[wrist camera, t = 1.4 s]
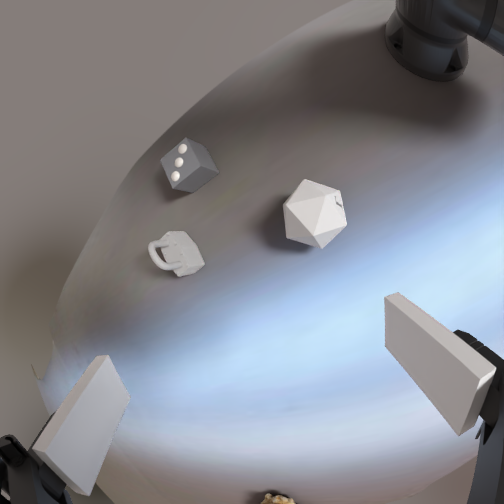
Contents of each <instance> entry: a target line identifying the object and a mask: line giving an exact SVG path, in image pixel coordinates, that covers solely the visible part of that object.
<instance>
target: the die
mask: <svg viewBox="0 0 504 504" xmlns="http://www.w3.org/2000/svg"><path fill="white" fill-rule="evenodd" d="M283 211H284V220H285V229H286V238H288V239H291V240H295V241H298V242H301V243H304V244H308V245H311V246H314V247H317V248H321V249H322V248H323V247H325V246H326V245H327V244H328V243H329V242H330V241H331V240H332V239H333V238H334V237H335V236H336V235H337V234H338V233H339V232H340V231H341V230H342V229H343V228H345V227H346V226H347V222H346V217H345V212H344V208H343V203H342V198H341V194H340V191H339V190H336V189H333V188H330V187H327V186H324V185H321V184H318V183H315V182H312V181H309V180H306V179H304V180H303V181H302V182H301V183H300V185H299V186H298V187H297V188H296V189H295V191H294V192H293V193H292V194H291V195H290V197H289V198H288V199H287V200H286V201H285V203H284V204H283Z"/></svg>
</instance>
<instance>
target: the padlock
mask: <svg viewBox="0 0 504 504" xmlns="http://www.w3.org/2000/svg"><path fill="white" fill-rule="evenodd" d="M157 247H160V248H161V251H162V253H163V256H164V258H165V260H166V262H167V263H166V262H164V261H162V260H161V259H160V257H159V256H158V254H157V252H156V250H155V248H157ZM148 251H149V254H150V257H151V258H152V260H153V262H154V263H155V264H156V265H157V266H158V267H159V268H161V269H163V270H173V271H174V272H175V273H176V275H177V276H179V277H180V276H184V275H189V274H193V273H195V272H197V271H198V270H199V269H200V268H201V267H203V266H204V265H205V263H204V261H203V258H202V256H201V254H200V252H199V249H198V247H197V245H196V244H195V243H194V242H193V240H192V239H191V238H190V237H189V236H188V235H187V233H186V232H185V231H168V232H167V233H166V234H165V235H164V236H163V237H162V238H161V239H160V240H156V241H152V242H150V244H149V245H148Z"/></svg>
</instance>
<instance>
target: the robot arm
mask: <svg viewBox="0 0 504 504" xmlns="http://www.w3.org/2000/svg"><path fill="white" fill-rule="evenodd" d="M467 35H470V36H472V37H474V38H475V39H477V40H479V41H481V42H482V43H484V44H485V45H487V46H489V47H490V48H492V49H493V50H495V51H497V52H498V53H500V54H501V55H503V56H504V0H396V9H395V10H394V12H393V13H392V15H391V17H390V18H389V20H388V22H387V24H386V28H385V41H386V45H387V47H388V49H389V51H390V53H391V54H392V56H393V57H394V58H395V59H396V60H397V61H398V62H399V63H400V64H401V65H402V66H404V67H405V68H406V69H408V70H409V71H411V72H413V73H415V74H417V75H419V76H421V77H424V78H427V79H430V80H435V81H450V80H454V79H456V78H458V77H459V76H460V75H461V74H462V73H463V72H464V70H465V68H466V66H467V63H468V44H467ZM384 301H385V347H386V348H387V349H388V351H389V352H390V353H391V354H392V355H393V356H394V358H395V359H396V360H397V361H398V362H399V363H400V365H401V366H402V367H403V368H404V369H405V371H406V372H407V373H408V374H409V375H410V377H411V378H412V379H413V380H414V381H415V383H416V384H417V385H418V386H419V387H420V389H421V390H422V391H423V392H424V394H425V395H426V396H427V397H428V399H429V400H430V401H431V402H432V403H433V405H434V406H435V407H436V408H437V410H438V411H439V412H440V414H441V415H442V416H443V417H444V419H445V420H446V421H447V422H448V424H449V425H450V426H451V428H452V429H453V430H454V431H455V433H456V434H457V435H458V436H460V435H461V434H463V433H464V432H466V431H467V430H469V429H470V428H472V427H473V426H474V425H475V423H476V421H477V419H478V416H479V415H480V416H481V417H482V419H483V423H482V425H481V427H480V429H479V431H478V433H477V435H476V438H475V439H478V437H479V436H480V434H481V436H480V444H479V451H478V457H477V464H476V468H475V473H474V478H473V482H472V486H471V491H470V494H469V498H468V502H467V504H504V360H503V359H502V358H501V357H499V356H498V355H497V354H496V353H494V352H493V351H492V350H490V349H489V348H488V347H486V346H484V344H483V343H481V342H480V341H477V339H476V338H474V337H473V336H472V335H470V334H469V333H466V332H463V331H460V330H456V331H454V332H451V331H450V330H449V329H447V328H446V327H445V326H443V325H442V324H441V323H439V322H438V321H437V320H435V319H434V318H433V317H431V316H430V315H429V314H427V313H426V312H425V311H423V310H422V309H421V308H419V307H418V306H417V305H415V304H414V303H412V302H411V301H410V300H408V299H407V298H406V297H404V296H403V295H401V294H400V293H399V292H398V293H395V294H392V295H389V296H386V297H384ZM130 398H131V396H130V395H129V393H128V391H127V389H126V388H125V386H124V384H123V382H122V380H121V379H120V377H119V375H118V373H117V371H116V369H115V367H114V365H113V363H112V361H111V359H110V357H109V355H101V356H96V357H95V359H94V360H93V361H92V363H91V364H90V365H89V367H88V368H87V369H86V371H85V372H84V373H83V375H82V376H81V377H80V379H79V380H78V382H77V383H76V384H75V386H74V387H73V388H72V390H71V391H70V393H69V394H68V395H67V397H66V398H65V400H64V401H63V403H62V404H61V405H60V407H59V408H58V410H57V411H56V412H55V413H53V414H52V415H51V416H50V418H49V420H48V421H47V422H46V424H45V425H44V427H43V428H42V430H41V431H40V433H39V434H38V436H37V437H36V439H35V440H34V442H33V444H32V446H31V447H30V448H29V450H28V451H26V449H25V448H24V447H23V446H22V445H21V444H20V442H19V441H18V440H17V439H16V438H15V437H14V436H13V435H5V436H3V437H1V438H0V504H73V503H72V501H71V498H70V495H69V493H68V492H67V491H66V490H65V486H66V484H67V485H68V486H69V487H70V488H71V489H72V490H74V491H75V492H76V493H80V494H83V495H87V496H90V493H91V491H92V488H93V486H94V483H95V481H96V478H97V476H98V473H99V471H100V468H101V466H102V463H103V461H104V458H105V456H106V453H107V451H108V449H109V446H110V444H111V442H112V439H113V437H114V435H115V432H116V430H117V428H118V425H119V423H120V421H121V418H122V416H123V414H124V412H125V410H126V407H127V405H128V403H129V401H130ZM1 489H2V490H3V491H4V492H5V493H7V494H8V495H9V496H10V501H9V500H7V499H6V498H5V497H4V496H2V495H1Z"/></svg>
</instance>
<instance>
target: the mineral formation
mask: <svg viewBox="0 0 504 504" xmlns="http://www.w3.org/2000/svg"><path fill="white" fill-rule="evenodd" d="M261 504H296V503H294V501H293V499H292V498H286V497H283V496H282V495H276V496H274V497H272V494H266V495H265V499H264V500H263V502H261Z"/></svg>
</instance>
